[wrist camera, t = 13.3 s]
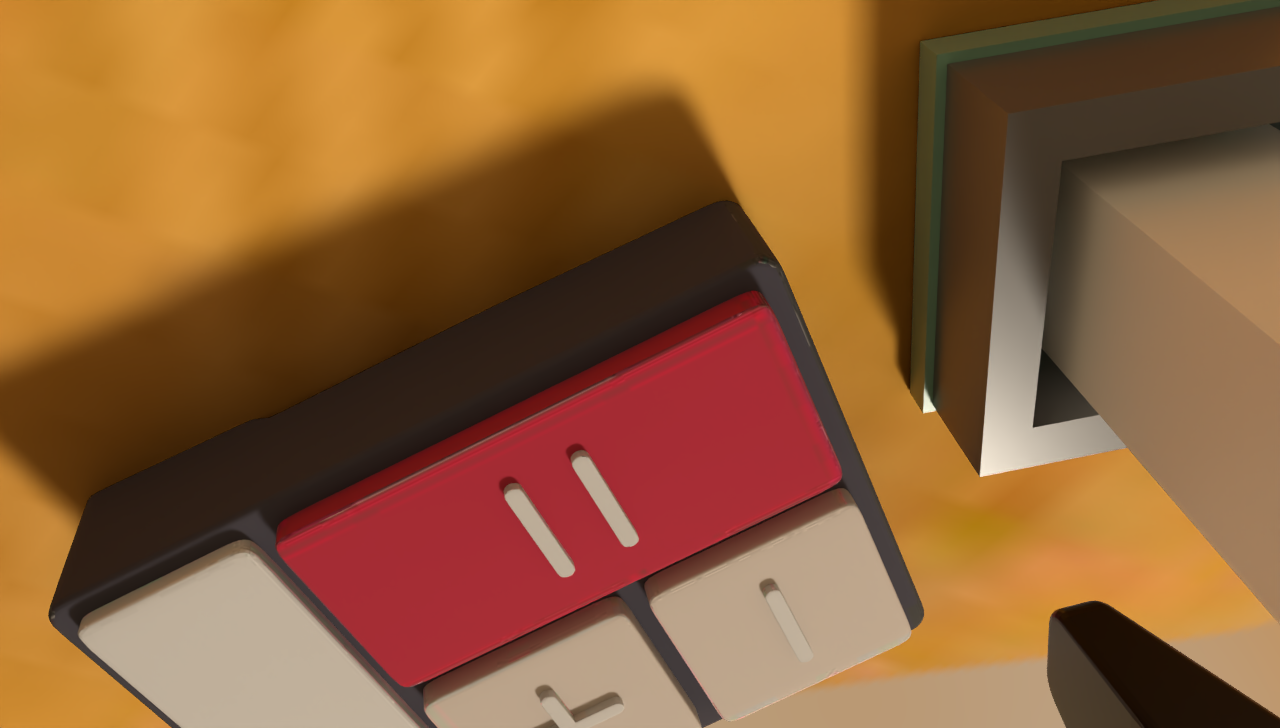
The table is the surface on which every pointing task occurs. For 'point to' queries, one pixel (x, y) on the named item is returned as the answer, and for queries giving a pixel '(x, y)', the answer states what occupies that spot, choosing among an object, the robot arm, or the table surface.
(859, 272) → the table surface
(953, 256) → the grey and green tray
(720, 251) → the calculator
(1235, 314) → the plug
